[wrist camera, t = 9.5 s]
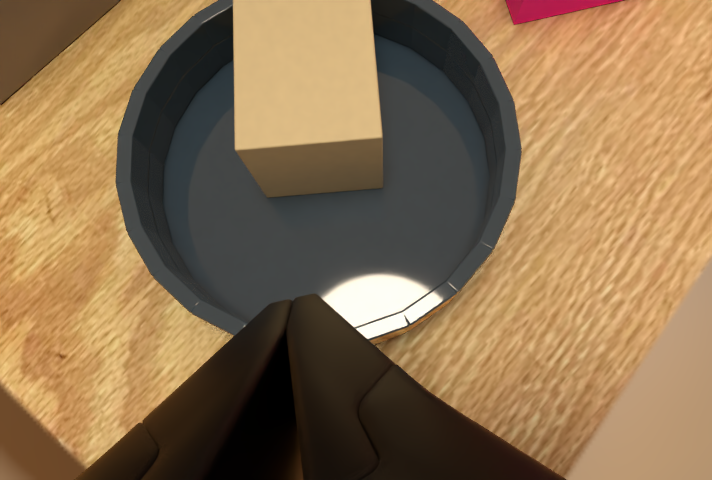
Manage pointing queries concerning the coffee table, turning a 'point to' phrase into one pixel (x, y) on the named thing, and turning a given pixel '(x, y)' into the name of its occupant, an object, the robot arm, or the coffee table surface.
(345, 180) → the block
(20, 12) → the grey angular block
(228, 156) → the bowl
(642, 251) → the coffee table surface
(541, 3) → the toy block
